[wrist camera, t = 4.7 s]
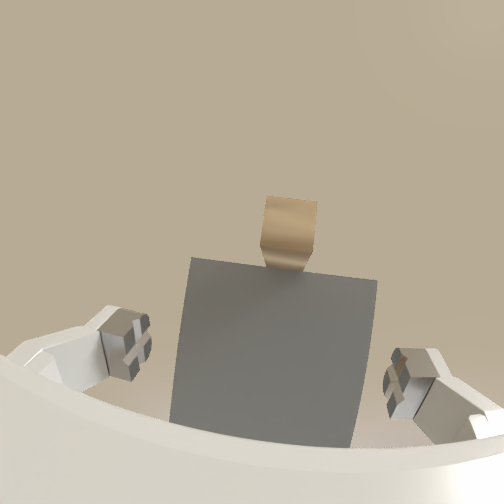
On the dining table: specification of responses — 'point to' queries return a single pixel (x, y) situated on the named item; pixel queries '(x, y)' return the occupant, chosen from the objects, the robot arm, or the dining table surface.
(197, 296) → the stand
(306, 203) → the wooden bar
